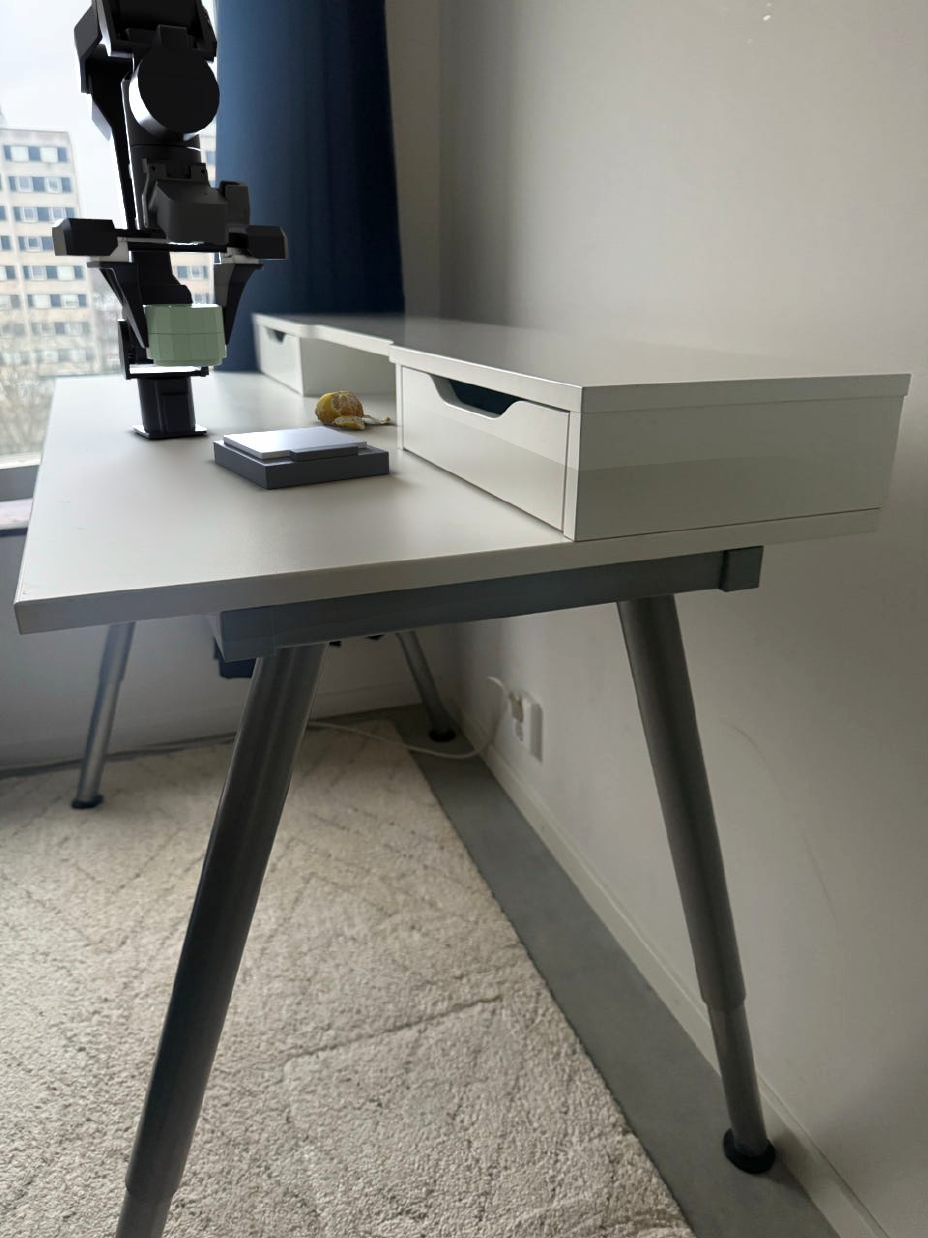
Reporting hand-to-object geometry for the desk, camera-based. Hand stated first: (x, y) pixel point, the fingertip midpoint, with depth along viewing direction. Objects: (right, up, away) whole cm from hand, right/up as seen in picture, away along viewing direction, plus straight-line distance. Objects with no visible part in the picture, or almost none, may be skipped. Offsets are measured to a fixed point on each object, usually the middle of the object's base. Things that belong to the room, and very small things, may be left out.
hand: (185, 346), depth 77 cm
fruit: (+11, -1, +26) cm, 29 cm away
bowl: (0, -1, 0) cm, 2 cm away
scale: (+10, -10, +4) cm, 15 cm away
